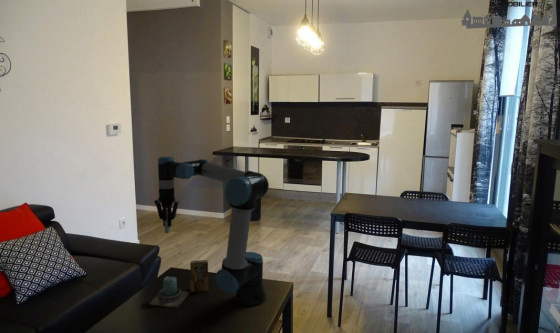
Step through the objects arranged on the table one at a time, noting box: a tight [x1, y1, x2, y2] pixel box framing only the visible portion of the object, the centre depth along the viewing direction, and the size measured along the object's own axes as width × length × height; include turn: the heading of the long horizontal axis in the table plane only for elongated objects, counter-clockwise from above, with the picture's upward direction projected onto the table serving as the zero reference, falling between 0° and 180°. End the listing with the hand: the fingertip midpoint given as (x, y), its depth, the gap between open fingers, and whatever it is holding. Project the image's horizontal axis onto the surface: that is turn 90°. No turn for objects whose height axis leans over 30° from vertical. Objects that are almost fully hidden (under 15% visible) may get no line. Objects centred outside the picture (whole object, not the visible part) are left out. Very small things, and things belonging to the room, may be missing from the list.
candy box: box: [190, 259, 209, 293], centre depth 193 cm, size 9×4×15 cm, turn 103°
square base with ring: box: [148, 286, 191, 309], centre depth 184 cm, size 14×14×4 cm
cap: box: [162, 276, 178, 297], centre depth 184 cm, size 6×6×10 cm
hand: (167, 232), depth 193 cm, fingers closed
